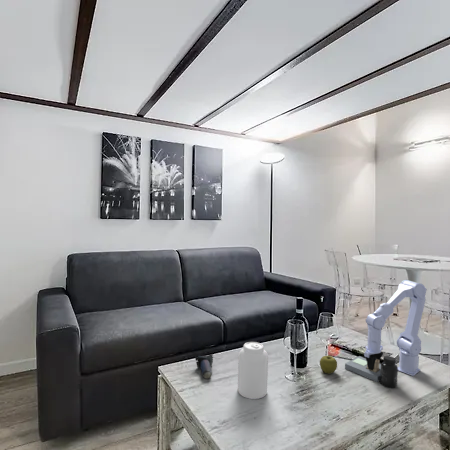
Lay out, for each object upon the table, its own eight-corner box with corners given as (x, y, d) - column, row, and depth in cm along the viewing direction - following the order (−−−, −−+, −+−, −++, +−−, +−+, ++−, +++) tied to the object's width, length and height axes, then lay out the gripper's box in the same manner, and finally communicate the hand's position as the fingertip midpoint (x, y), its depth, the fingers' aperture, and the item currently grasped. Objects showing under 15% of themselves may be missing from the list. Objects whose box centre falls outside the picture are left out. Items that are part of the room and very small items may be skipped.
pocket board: (359, 360, 167) (359, 355, 167) (390, 372, 155) (391, 367, 155) (344, 368, 158) (345, 363, 158) (377, 382, 146) (377, 376, 146)
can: (269, 386, 140) (271, 341, 139) (263, 402, 128) (265, 353, 127) (242, 381, 144) (243, 337, 143) (233, 396, 132) (234, 348, 131)
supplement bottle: (399, 389, 140) (400, 362, 140) (382, 387, 141) (383, 360, 141) (394, 381, 147) (395, 355, 146) (378, 379, 148) (379, 354, 148)
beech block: (370, 370, 156) (371, 356, 156) (378, 374, 153) (379, 359, 153) (366, 373, 154) (367, 359, 154) (374, 376, 151) (375, 362, 151)
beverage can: (197, 370, 156) (200, 384, 144) (194, 355, 155) (198, 368, 143) (215, 365, 158) (220, 378, 146) (212, 350, 157) (217, 363, 145)
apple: (339, 376, 150) (339, 361, 150) (321, 375, 150) (322, 360, 150) (333, 368, 158) (334, 354, 158) (317, 368, 158) (318, 353, 158)
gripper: (373, 334, 161) (372, 360, 161) (358, 340, 151) (357, 369, 152) (387, 338, 155) (386, 366, 156) (373, 345, 146) (372, 375, 147)
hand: (373, 367), depth 154 cm, fingers closed on beech block, 4 cm apart
